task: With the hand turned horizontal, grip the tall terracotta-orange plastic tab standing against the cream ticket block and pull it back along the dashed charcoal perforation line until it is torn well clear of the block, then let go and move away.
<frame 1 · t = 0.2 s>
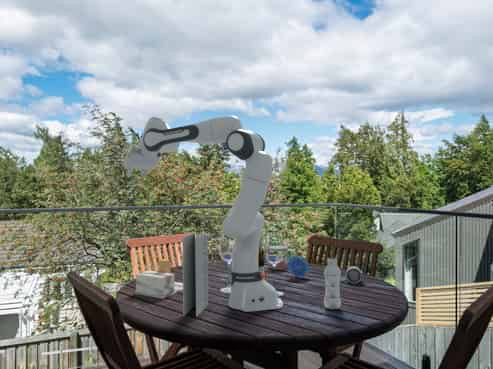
hand: (135, 176, 189), 54 cm above the table, tool tilted 25°, fingers open, 8 cm apart
ticket block: (164, 290, 191), on the table
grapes: (298, 278, 211), on the table
brochure: (196, 311, 160), on the table
ceramic mug: (351, 282, 203), on the table
stub tab: (164, 273, 191), point 8 cm above the table, slide at 0.0 cm
plastic bottle: (332, 309, 161), on the table
canned food: (278, 267, 239), on the table
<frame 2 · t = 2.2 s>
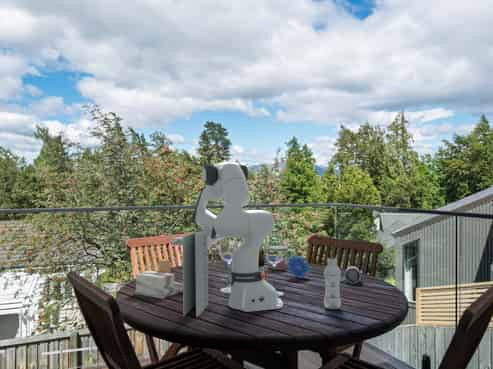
hand: (180, 244, 201), 20 cm above the table, tool horizontal, fingers open, 8 cm apart
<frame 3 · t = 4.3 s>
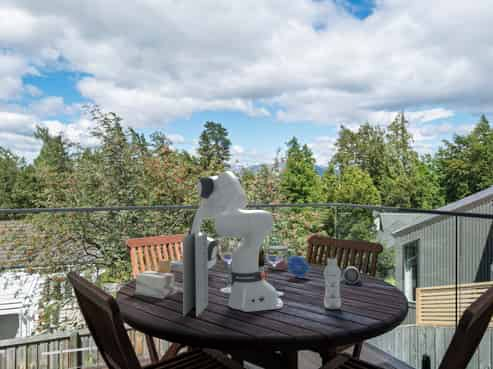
hand: (176, 269, 197), 8 cm above the table, tool horizontal, fingers open, 8 cm apart
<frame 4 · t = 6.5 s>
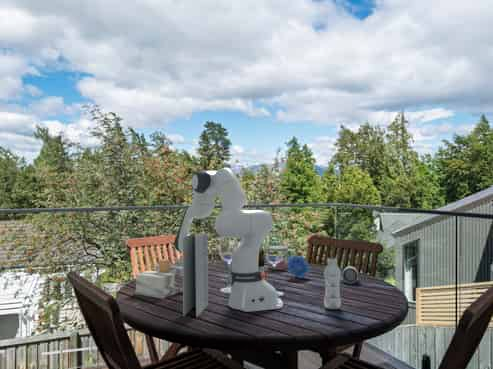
hand: (163, 272, 190), 9 cm above the table, tool horizontal, fingers closed on stub tab, 4 cm apart
stub tab: (164, 273, 191), point 8 cm above the table, slide at 0.0 cm, touching gripper
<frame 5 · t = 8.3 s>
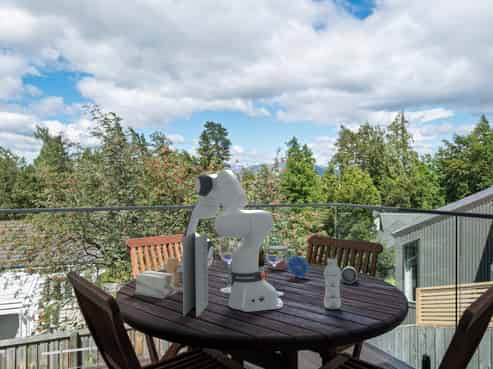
hand: (171, 270, 195), 9 cm above the table, tool horizontal, fingers closed on stub tab, 4 cm apart
stub tab: (173, 271, 196), point 8 cm above the table, slide at 5.9 cm, touching gripper
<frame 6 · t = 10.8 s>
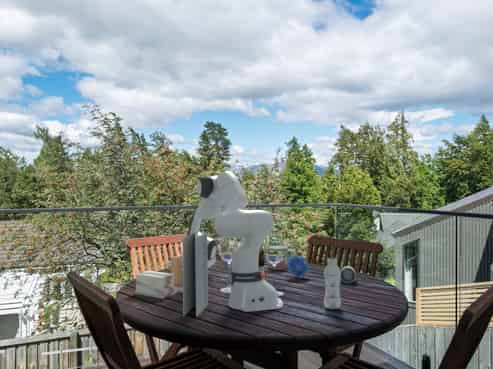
hand: (175, 269, 197), 9 cm above the table, tool horizontal, fingers open, 8 cm apart
stub tab: (176, 270, 198), point 8 cm above the table, slide at 8.5 cm
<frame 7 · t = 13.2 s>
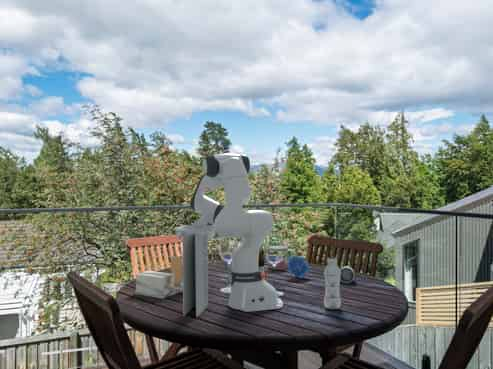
hand: (187, 238, 201), 23 cm above the table, tool tilted 75°, fingers open, 8 cm apart
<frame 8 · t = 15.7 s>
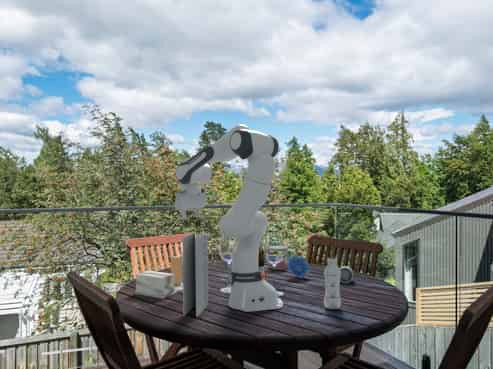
hand: (190, 218, 200), 33 cm above the table, tool pointing down, fingers open, 8 cm apart
at the end: stub tab slide at 8.5 cm; the gripper is holding nothing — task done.
